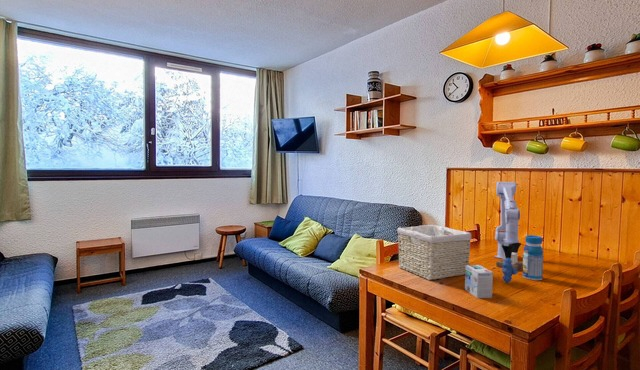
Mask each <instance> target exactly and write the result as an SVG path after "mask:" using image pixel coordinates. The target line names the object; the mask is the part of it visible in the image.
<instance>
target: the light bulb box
mask: <svg viewBox="0 0 640 370" xmlns="http://www.w3.org/2000/svg"><path fill="white" fill-rule="evenodd" d="M493 274H494V271H492V270H490V269H487V268H486V267H484V266H482V265H480V264H472V265H471V264H469V265H466V268H465V276H464V279H465V280H464V290H466V291H467V292H468V294H469V293H470V294H471V295H472V296H473V297H475V298H476V299H490V298H491V299H493V282H494V281H493V279H494V278H493V277H494V275H493Z"/></svg>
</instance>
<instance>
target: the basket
mask: <svg viewBox="0 0 640 370" xmlns="http://www.w3.org/2000/svg"><path fill="white" fill-rule="evenodd" d="M397 235H398V237H397V239H398V241H397V242H398V267H399V269H403V270H406V271H407V272H410V273H412V274H414V275H416V276H419V277H422V278H424V279H426V280H428V281H431V280H437V279H445V278H452V277H456V276H457V277H458V276H459V277H460V276H463V275H465V268H466V265H470V252H471V250H470V249H471V240H472V233H471V232H469V231H464V230H463V231H462V230H458V229H454V228H451V227H450V228H449V227H447V226H441V225H437V224H436V225H435V224H428V225H427V224H426V225H425V224H424V225H418V226H409V227H407V226H406V227H398V228H397Z"/></svg>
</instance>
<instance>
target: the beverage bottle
mask: <svg viewBox="0 0 640 370" xmlns="http://www.w3.org/2000/svg"><path fill="white" fill-rule="evenodd" d="M525 243H526V244H525V245H524V247H523V248H522V249H523V253H522V263H523V269H522V277H523V278H524V279H527V280H531V281H541V280H542V279H543V278H544V277H543V274H544V273H543V272H544V271H543V269H544V255H543V254H544V249H543V246H542V244H543V237H542V236H539V235H533V234H531V235H530V234H526V235H525Z"/></svg>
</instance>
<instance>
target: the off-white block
mask: <svg viewBox="0 0 640 370" xmlns="http://www.w3.org/2000/svg"><path fill="white" fill-rule="evenodd" d="M504 259H506V257H505V253H504ZM504 259H503V260H504ZM511 260H512V263H511V264H515V263H517V261H518V252H517V253H514V252H512V254H511ZM504 263H505V262H504Z"/></svg>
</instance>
